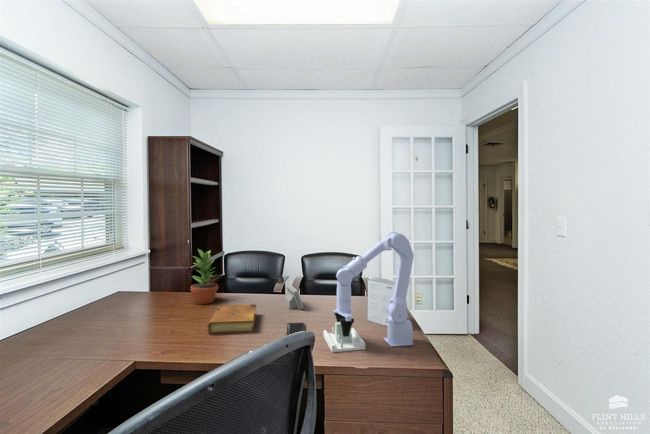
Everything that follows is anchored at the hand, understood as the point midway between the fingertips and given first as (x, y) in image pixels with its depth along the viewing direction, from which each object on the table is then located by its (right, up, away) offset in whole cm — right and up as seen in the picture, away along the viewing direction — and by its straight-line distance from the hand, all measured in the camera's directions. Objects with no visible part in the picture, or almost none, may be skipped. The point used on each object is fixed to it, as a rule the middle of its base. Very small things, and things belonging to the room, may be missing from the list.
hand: (343, 332), depth 132 cm
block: (0, -3, 0) cm, 3 cm away
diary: (-49, -4, +20) cm, 53 cm away
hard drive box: (+21, -4, +23) cm, 31 cm away
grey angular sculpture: (-24, -2, +47) cm, 53 cm away
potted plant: (-75, -2, +55) cm, 93 cm away
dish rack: (0, -4, 0) cm, 4 cm away
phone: (-20, -4, +12) cm, 24 cm away
